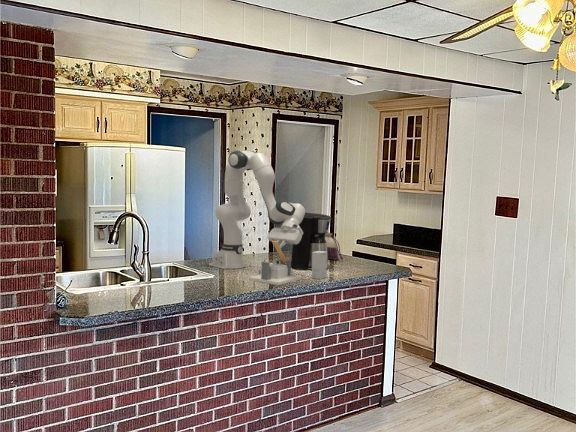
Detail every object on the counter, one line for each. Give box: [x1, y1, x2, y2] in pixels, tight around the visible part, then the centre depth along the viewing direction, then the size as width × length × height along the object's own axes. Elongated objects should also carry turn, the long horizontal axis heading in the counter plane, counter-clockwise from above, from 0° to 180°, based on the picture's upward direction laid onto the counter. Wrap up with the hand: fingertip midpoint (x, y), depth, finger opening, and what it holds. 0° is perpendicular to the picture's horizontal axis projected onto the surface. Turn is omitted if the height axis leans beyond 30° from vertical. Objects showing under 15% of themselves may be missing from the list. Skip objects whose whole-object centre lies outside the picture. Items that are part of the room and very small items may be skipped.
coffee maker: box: [275, 212, 332, 271], centre depth 335 cm, size 23×32×34 cm
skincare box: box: [311, 251, 328, 280], centre depth 307 cm, size 8×6×15 cm
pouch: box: [324, 231, 344, 261], centre depth 370 cm, size 25×8×19 cm, turn 57°
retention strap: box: [271, 241, 288, 264], centre depth 301 cm, size 18×3×1 cm
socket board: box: [248, 258, 303, 286], centre depth 299 cm, size 20×22×11 cm
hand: (278, 247), depth 299 cm, fingers closed, pressing on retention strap
